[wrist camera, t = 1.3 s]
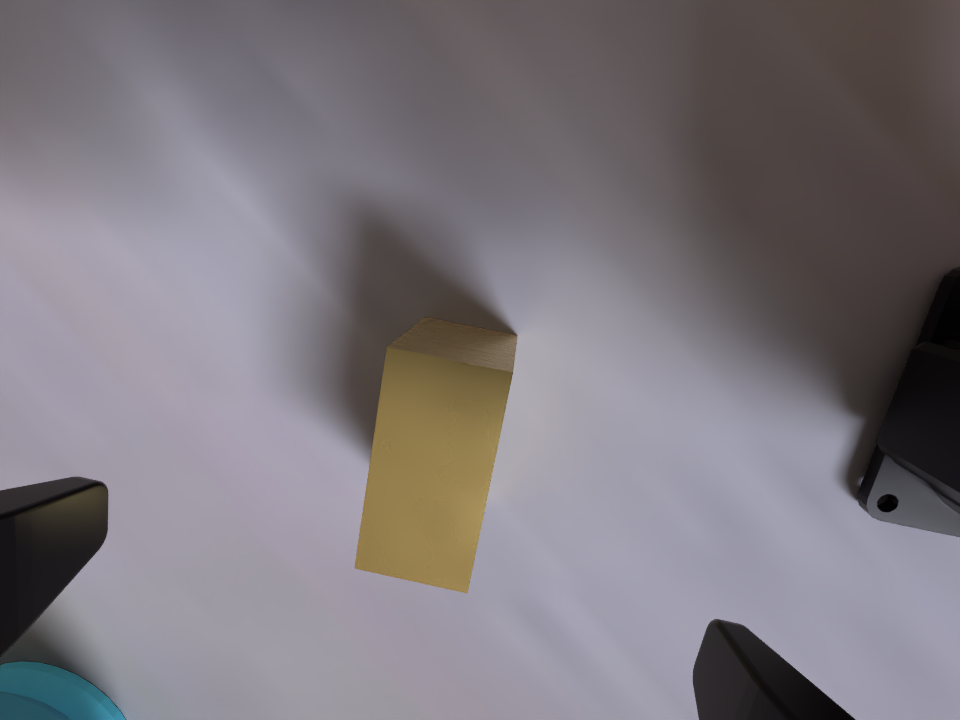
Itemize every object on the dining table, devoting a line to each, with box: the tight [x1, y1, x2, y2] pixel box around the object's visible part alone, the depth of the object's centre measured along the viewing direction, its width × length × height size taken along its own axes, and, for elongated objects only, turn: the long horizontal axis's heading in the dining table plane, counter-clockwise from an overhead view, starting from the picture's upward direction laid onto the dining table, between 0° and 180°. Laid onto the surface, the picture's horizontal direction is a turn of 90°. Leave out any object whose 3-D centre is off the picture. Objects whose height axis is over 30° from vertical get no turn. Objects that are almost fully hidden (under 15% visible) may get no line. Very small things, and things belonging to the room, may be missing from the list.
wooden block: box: [355, 317, 518, 593], centre depth 13 cm, size 2×5×4 cm, turn 169°
